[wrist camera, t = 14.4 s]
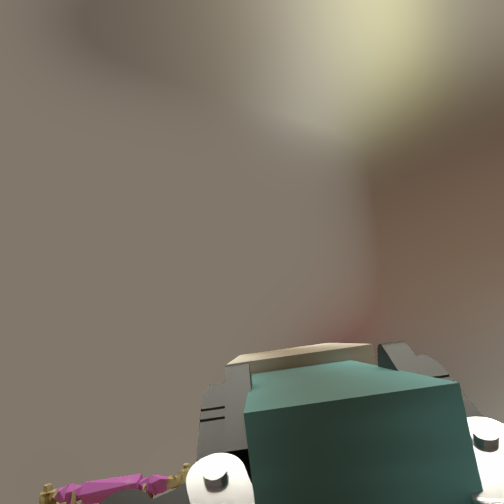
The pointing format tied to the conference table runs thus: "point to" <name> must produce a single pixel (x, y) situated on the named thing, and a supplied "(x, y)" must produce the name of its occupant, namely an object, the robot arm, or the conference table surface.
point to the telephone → (111, 488)
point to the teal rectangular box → (354, 431)
